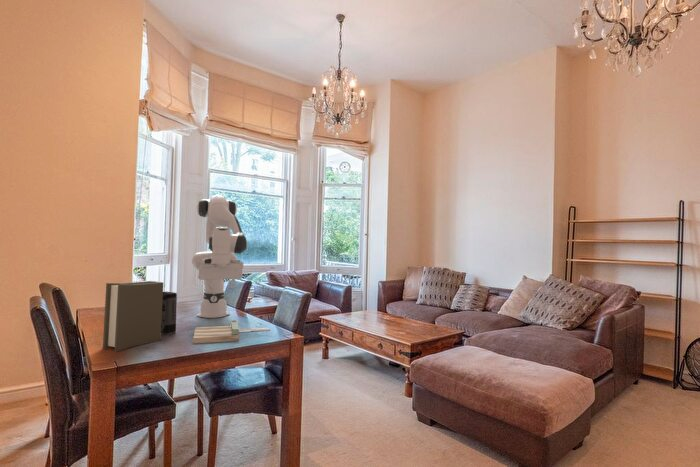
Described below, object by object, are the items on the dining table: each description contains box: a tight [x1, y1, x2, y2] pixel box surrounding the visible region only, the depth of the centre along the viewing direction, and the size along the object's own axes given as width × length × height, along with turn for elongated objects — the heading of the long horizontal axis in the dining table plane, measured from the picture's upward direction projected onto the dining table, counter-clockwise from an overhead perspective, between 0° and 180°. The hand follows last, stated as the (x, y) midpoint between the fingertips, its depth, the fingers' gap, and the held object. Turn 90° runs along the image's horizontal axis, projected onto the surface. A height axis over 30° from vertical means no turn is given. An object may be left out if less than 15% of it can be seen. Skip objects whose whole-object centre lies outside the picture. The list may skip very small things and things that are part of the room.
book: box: [102, 280, 164, 353], centre depth 171 cm, size 22×9×28 cm, turn 154°
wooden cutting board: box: [192, 325, 271, 344], centre depth 188 cm, size 20×36×2 cm, turn 109°
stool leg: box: [230, 319, 240, 335], centre depth 188 cm, size 18×3×3 cm, turn 19°
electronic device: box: [161, 291, 178, 336], centre depth 190 cm, size 9×6×20 cm, turn 62°
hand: (220, 288), depth 183 cm, fingers open, 8 cm apart
